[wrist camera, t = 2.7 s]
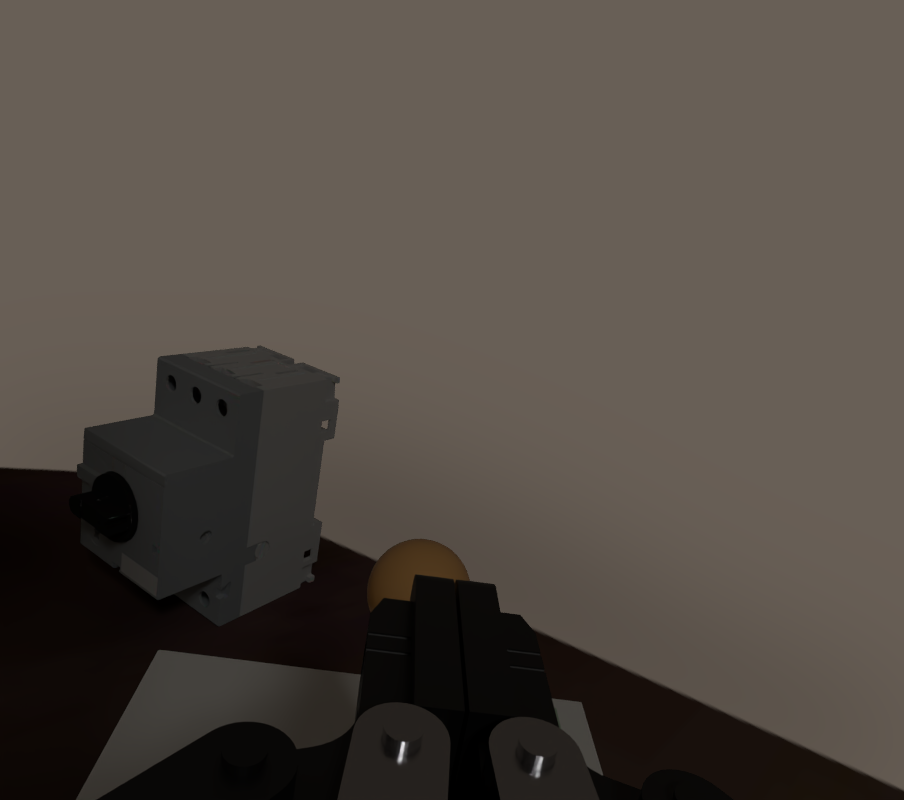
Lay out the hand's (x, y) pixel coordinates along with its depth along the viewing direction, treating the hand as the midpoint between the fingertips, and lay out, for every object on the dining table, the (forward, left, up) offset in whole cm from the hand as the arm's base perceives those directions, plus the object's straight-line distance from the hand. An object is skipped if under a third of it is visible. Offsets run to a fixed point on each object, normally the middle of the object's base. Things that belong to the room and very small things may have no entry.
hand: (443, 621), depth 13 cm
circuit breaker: (-22, +23, -21) cm, 38 cm away
